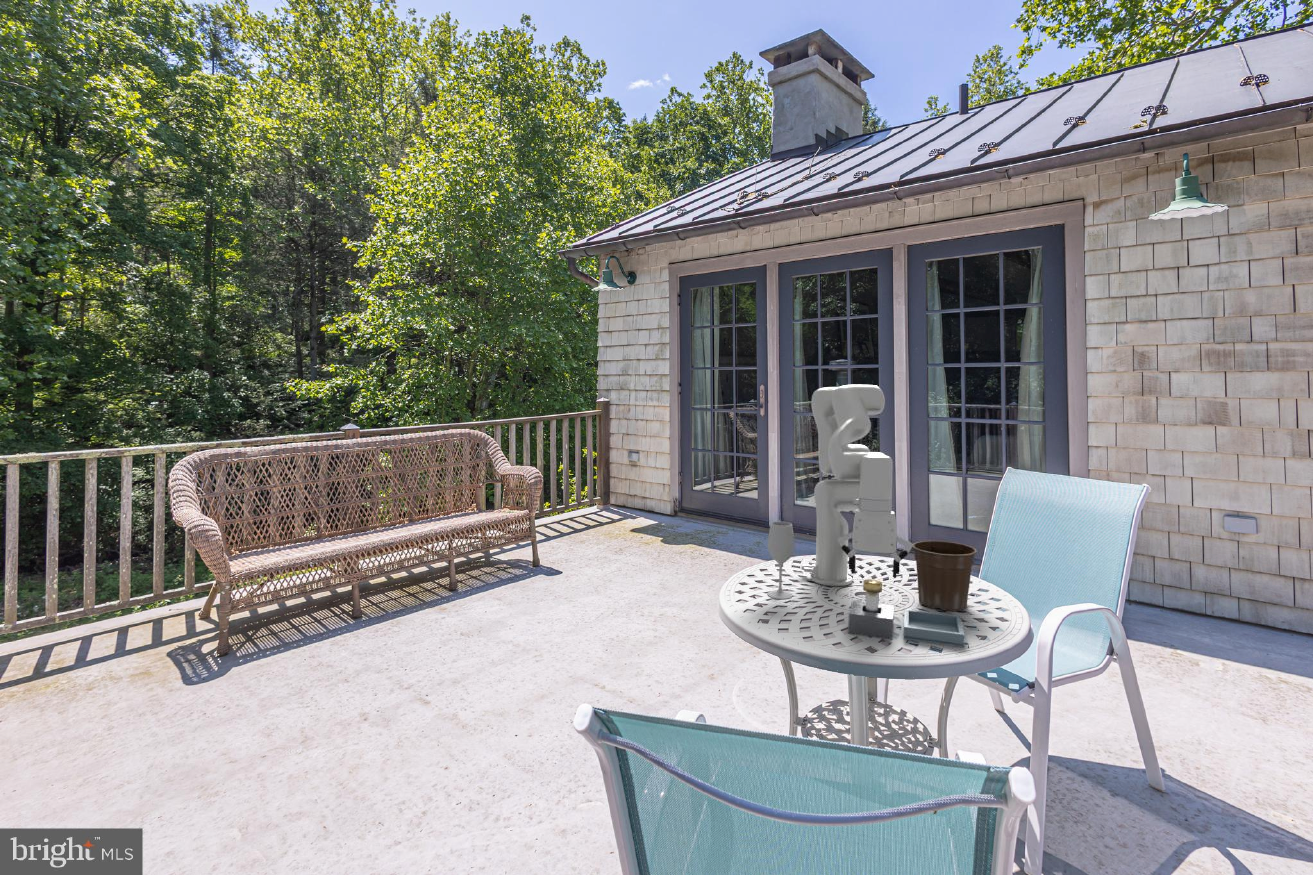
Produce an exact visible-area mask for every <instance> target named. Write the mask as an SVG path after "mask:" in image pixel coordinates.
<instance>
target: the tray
mask: <svg viewBox="0 0 1313 875" xmlns="http://www.w3.org/2000/svg"><path fill="white" fill-rule="evenodd" d="M903 616H904V617H903V618H904V619H903V640H907V641H915V642H920V643H921V642H922V643H929V644H935V645H936V644H937V645H943V646H949V647H957V648H965V632H964V627H963V622H962V616H961V615H953V614H946V613H939V612H930V611H922V610H915V609H907V608H904V615H903Z"/></svg>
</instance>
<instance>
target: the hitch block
mask: <svg viewBox="0 0 1313 875" xmlns="http://www.w3.org/2000/svg"><path fill="white" fill-rule="evenodd" d="M865 611H866V601H859V600H858V601H857V600H852V601H851V606H850V608H849V612H848V634H851V635H855V636H857V635H858V636H863V637H869V638H877V639H878V638H879V639H883V640H891V641H892V640H893V634H894V621H895V620H894V616H895V605H892V604H891V605H890V604H881V603H879V605H878V613H871V612H865Z"/></svg>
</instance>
